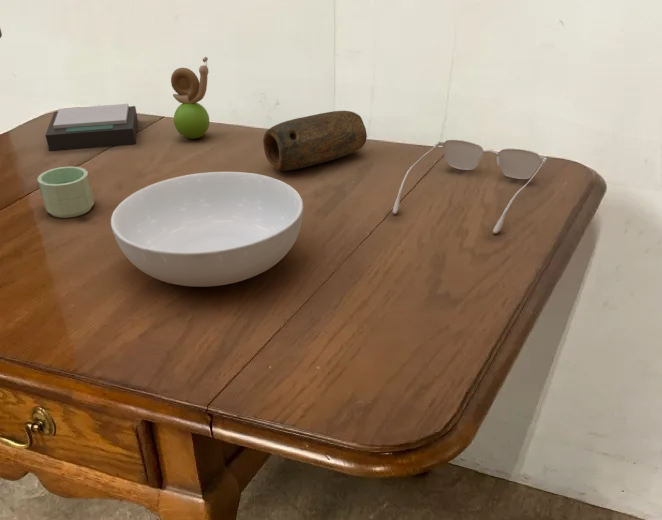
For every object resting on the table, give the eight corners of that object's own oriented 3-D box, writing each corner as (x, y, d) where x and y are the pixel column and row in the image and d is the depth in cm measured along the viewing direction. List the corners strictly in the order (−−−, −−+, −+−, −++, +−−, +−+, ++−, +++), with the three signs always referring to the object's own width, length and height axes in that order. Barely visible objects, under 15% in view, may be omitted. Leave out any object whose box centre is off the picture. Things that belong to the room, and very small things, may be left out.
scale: (49, 150, 118) (44, 131, 116) (57, 126, 126) (53, 108, 124) (135, 143, 119) (131, 124, 117) (137, 120, 128) (134, 102, 126)
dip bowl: (43, 221, 98) (34, 187, 95) (49, 201, 103) (40, 168, 100) (93, 216, 99) (85, 183, 96) (96, 197, 104) (89, 164, 101)
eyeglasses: (544, 182, 104) (548, 153, 102) (503, 237, 92) (507, 205, 89) (437, 164, 110) (438, 136, 107) (385, 214, 97) (386, 183, 95)
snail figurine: (210, 145, 118) (200, 62, 110) (171, 142, 119) (158, 60, 112) (222, 133, 122) (213, 52, 115) (184, 130, 123) (173, 50, 116)
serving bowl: (192, 211, 99) (185, 159, 95) (337, 243, 91) (336, 188, 87) (82, 285, 85) (67, 227, 81) (242, 330, 77) (235, 269, 73)
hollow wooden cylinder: (290, 183, 106) (287, 134, 102) (261, 168, 110) (257, 121, 106) (371, 155, 113) (372, 108, 109) (340, 143, 117) (340, 97, 113)
